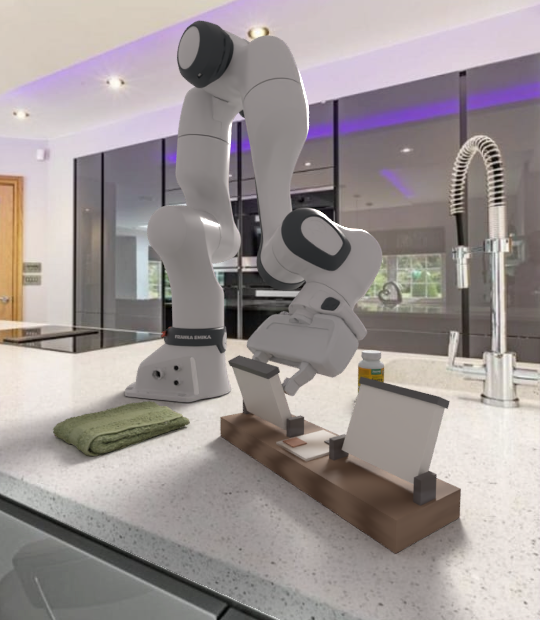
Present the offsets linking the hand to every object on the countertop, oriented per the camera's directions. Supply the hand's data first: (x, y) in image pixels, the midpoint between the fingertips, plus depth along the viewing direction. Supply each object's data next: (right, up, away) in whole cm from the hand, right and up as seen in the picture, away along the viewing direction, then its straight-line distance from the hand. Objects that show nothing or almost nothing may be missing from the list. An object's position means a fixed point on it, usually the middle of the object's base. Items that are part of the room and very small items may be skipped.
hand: (266, 385), depth 59 cm
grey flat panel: (+12, -7, -15) cm, 21 cm away
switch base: (+6, -9, -7) cm, 13 cm away
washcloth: (-23, -9, +6) cm, 25 cm away
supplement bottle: (+22, -8, +27) cm, 35 cm away
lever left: (+1, -6, +1) cm, 6 cm away
